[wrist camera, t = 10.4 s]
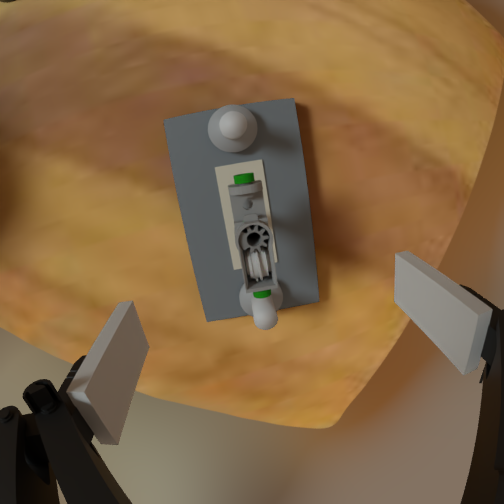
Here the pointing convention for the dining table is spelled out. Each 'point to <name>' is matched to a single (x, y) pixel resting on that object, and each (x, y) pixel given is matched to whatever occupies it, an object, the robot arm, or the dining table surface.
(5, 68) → the dining table surface
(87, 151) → the dining table surface
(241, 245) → the mechanical component
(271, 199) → the gear board
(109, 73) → the dining table surface
